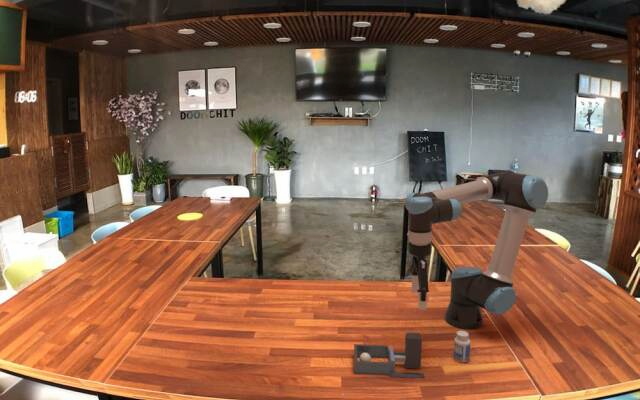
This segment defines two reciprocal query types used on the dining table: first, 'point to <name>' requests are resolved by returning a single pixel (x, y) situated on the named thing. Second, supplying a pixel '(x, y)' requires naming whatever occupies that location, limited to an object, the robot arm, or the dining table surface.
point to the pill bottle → (462, 347)
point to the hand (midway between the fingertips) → (418, 300)
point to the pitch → (378, 367)
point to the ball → (365, 357)
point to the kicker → (408, 352)
